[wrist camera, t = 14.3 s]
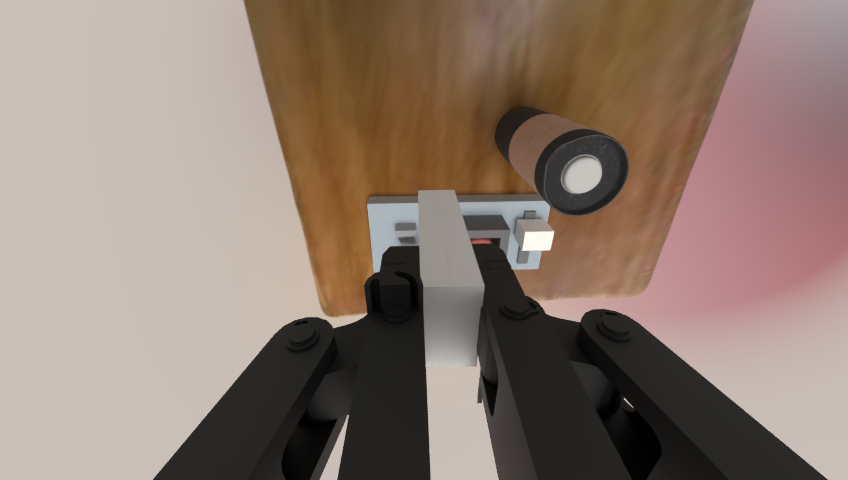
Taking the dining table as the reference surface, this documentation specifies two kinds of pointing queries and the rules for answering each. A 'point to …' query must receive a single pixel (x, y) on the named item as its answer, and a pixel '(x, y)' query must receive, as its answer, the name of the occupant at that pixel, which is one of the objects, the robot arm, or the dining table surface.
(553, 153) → the travel mug
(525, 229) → the slider
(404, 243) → the lever
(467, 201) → the panel
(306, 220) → the dining table surface
